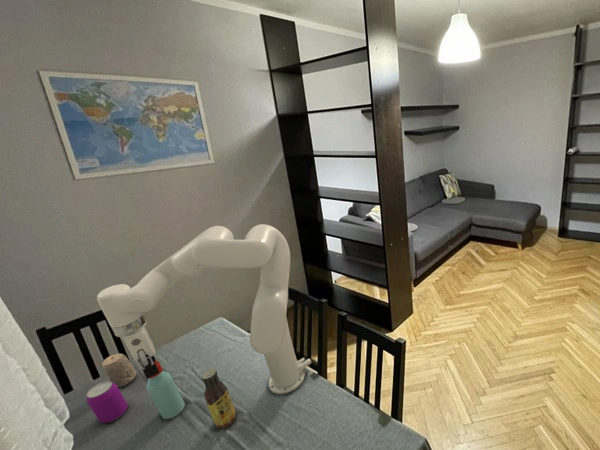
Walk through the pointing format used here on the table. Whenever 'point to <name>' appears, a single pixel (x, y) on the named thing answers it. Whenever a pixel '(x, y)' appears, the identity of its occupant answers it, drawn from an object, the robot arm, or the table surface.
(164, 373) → the water bottle
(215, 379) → the sauce bottle
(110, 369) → the carving
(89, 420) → the table surface
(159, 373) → the cap
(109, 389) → the beverage can
